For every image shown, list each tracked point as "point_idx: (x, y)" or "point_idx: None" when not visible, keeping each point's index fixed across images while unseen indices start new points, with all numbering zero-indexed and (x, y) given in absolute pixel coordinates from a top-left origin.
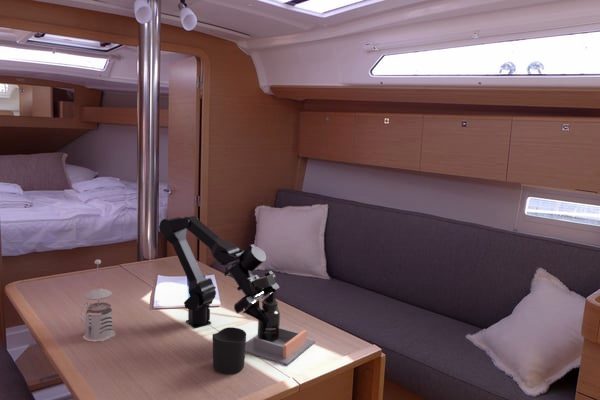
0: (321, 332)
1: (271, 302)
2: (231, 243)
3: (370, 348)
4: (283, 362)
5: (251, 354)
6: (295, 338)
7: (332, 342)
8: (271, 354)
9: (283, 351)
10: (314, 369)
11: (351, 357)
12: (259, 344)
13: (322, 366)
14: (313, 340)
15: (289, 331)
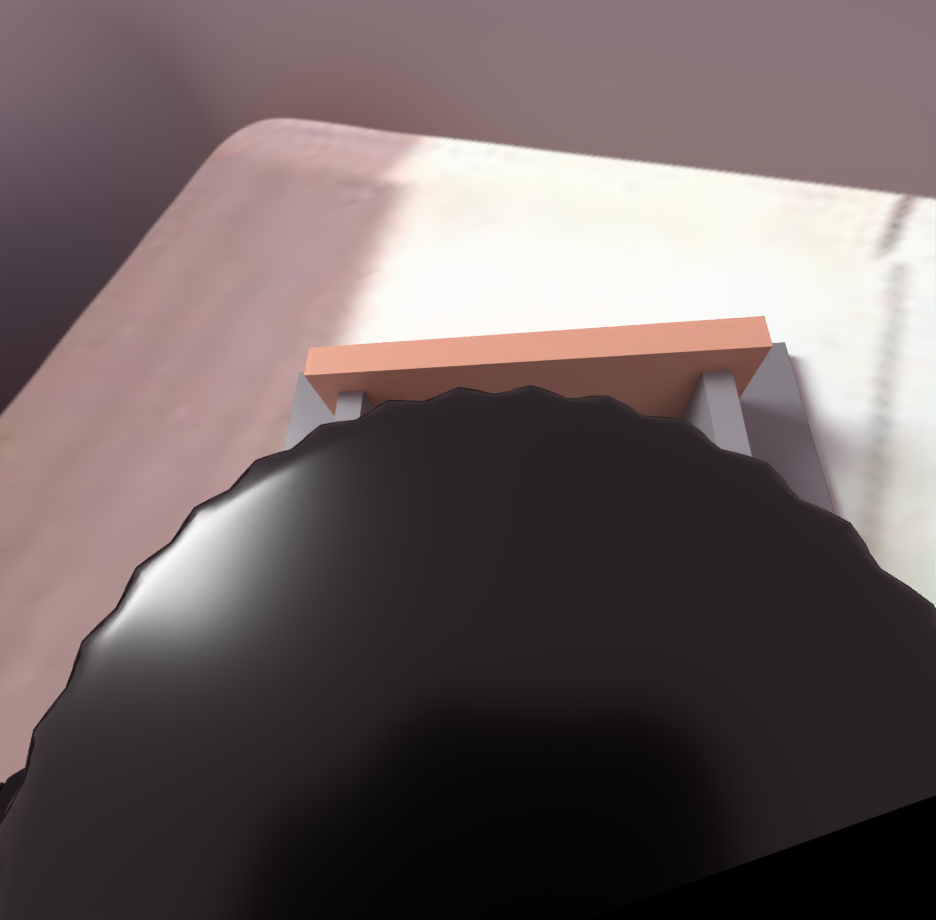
0: (112, 428)
1: (461, 713)
2: None
3: (248, 139)
4: (792, 375)
5: None
6: (545, 336)
7: (252, 301)
8: None
9: (746, 384)
10: (675, 214)
11: (399, 153)
12: None
13: (604, 201)
14: (297, 386)
15: None
